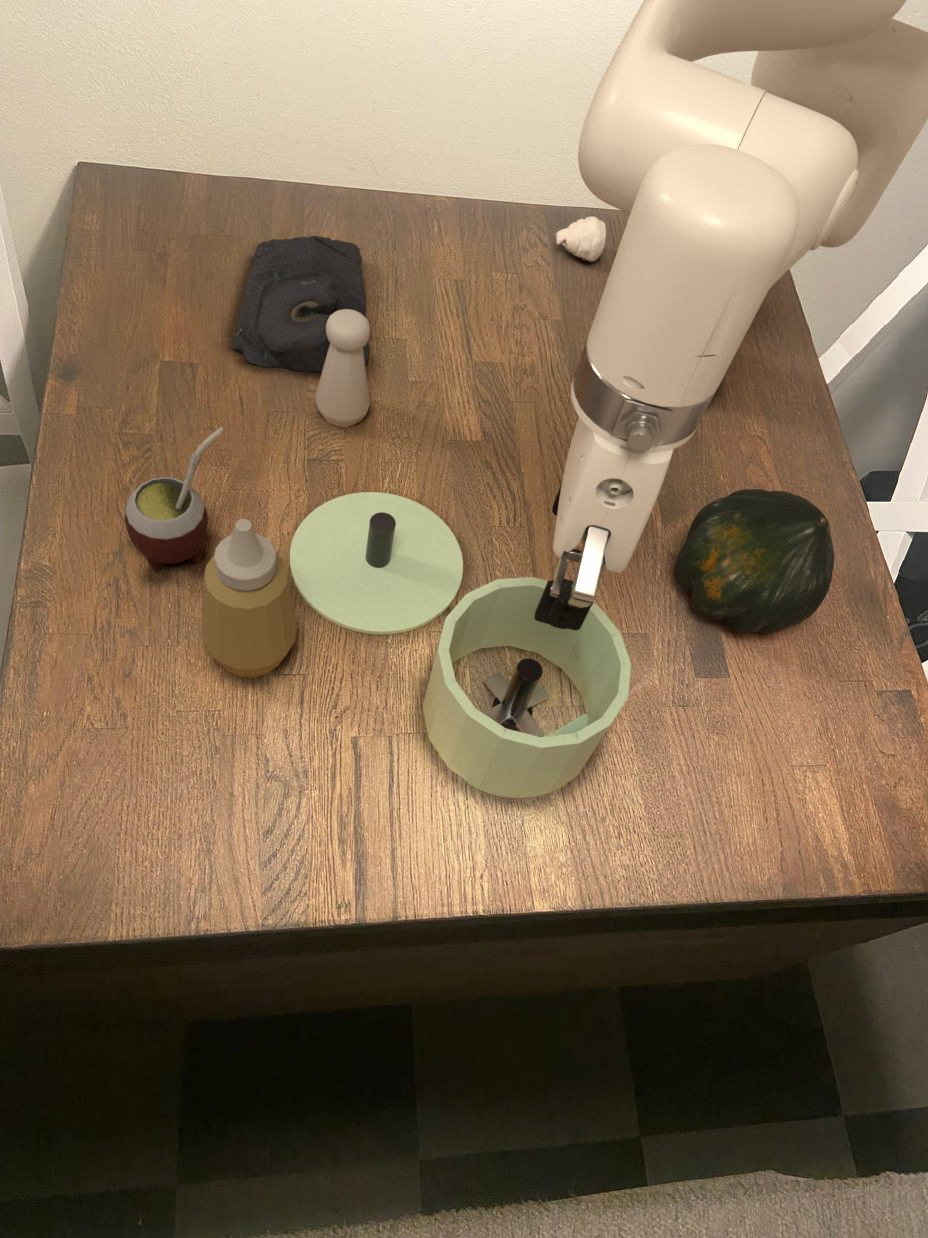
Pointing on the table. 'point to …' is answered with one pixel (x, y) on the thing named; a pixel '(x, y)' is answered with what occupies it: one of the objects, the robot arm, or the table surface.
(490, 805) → the table surface
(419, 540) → the lid
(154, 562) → the mate gourd
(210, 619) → the squeeze bottle
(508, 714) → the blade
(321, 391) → the salt shaker
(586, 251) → the garlic bulb
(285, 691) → the table surface
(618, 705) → the green cylindrical sleeve
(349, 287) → the dark slate chunk
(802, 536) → the squash
